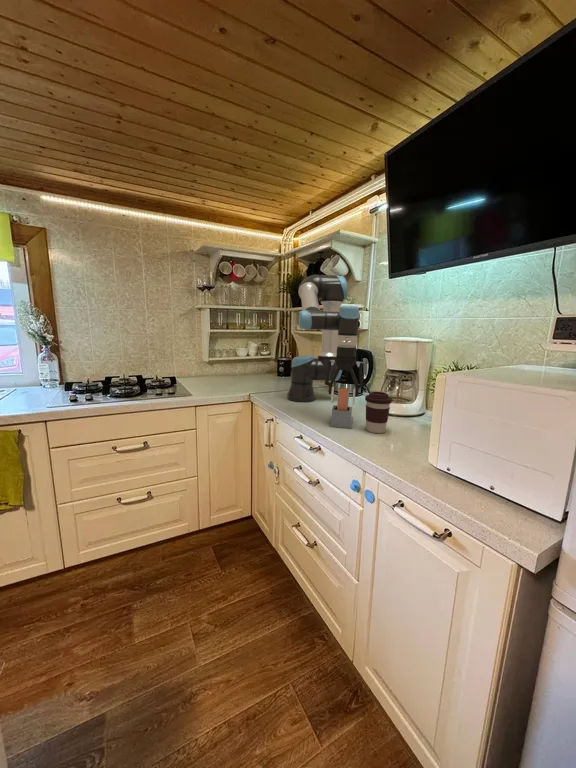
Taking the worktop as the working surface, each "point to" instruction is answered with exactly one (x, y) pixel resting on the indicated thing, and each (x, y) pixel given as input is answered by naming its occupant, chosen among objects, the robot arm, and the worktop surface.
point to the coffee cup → (377, 411)
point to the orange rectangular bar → (342, 399)
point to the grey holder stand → (341, 418)
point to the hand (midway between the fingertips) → (342, 403)
